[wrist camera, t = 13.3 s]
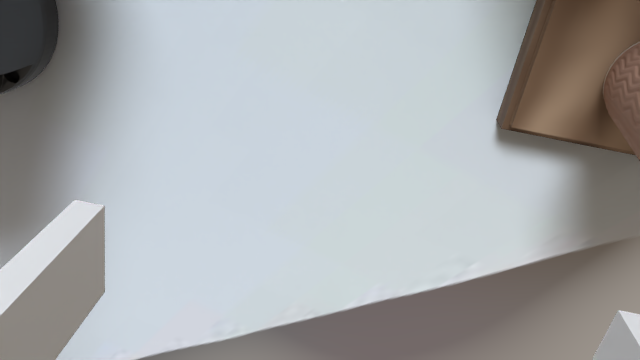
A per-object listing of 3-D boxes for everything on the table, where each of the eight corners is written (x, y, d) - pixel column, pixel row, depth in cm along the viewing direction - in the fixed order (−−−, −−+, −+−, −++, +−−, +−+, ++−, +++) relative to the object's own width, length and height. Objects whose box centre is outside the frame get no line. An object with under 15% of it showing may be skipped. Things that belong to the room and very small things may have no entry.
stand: (496, 119, 47) (503, 132, 45) (545, -27, 42) (556, -23, 39) (657, 151, 47) (674, 166, 44) (727, 8, 42) (751, 15, 39)
